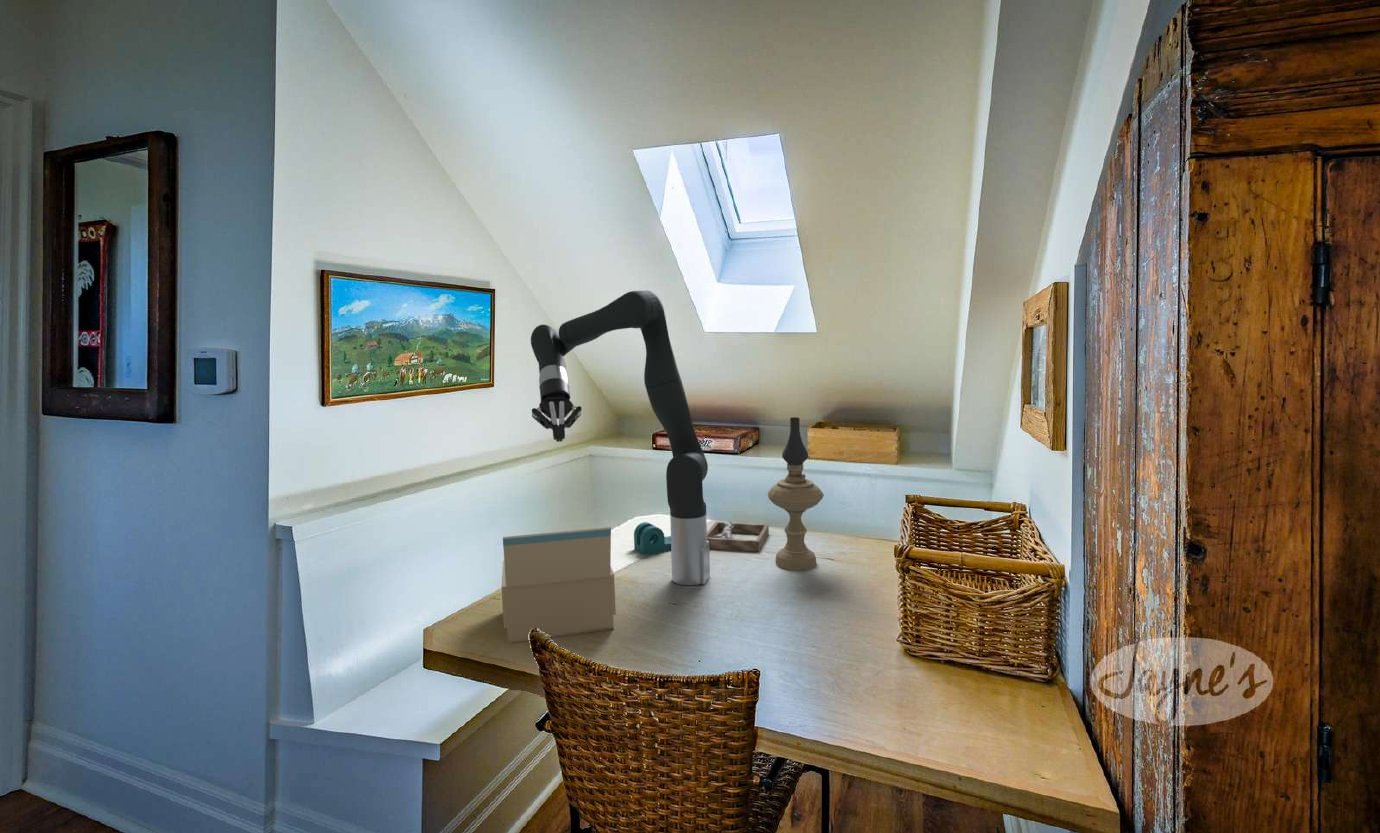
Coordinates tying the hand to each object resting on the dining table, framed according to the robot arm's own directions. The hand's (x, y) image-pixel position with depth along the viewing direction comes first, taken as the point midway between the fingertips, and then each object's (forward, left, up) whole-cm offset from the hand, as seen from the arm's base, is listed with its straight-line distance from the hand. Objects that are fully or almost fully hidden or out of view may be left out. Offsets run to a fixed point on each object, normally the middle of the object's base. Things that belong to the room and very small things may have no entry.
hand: (559, 439), depth 164 cm
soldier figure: (-30, -48, -38) cm, 68 cm away
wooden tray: (-34, -47, -38) cm, 69 cm away
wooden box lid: (-12, +28, -20) cm, 36 cm away
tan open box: (-7, +18, -38) cm, 42 cm away
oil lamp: (-54, -30, -38) cm, 73 cm away
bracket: (-15, -37, -38) cm, 55 cm away
